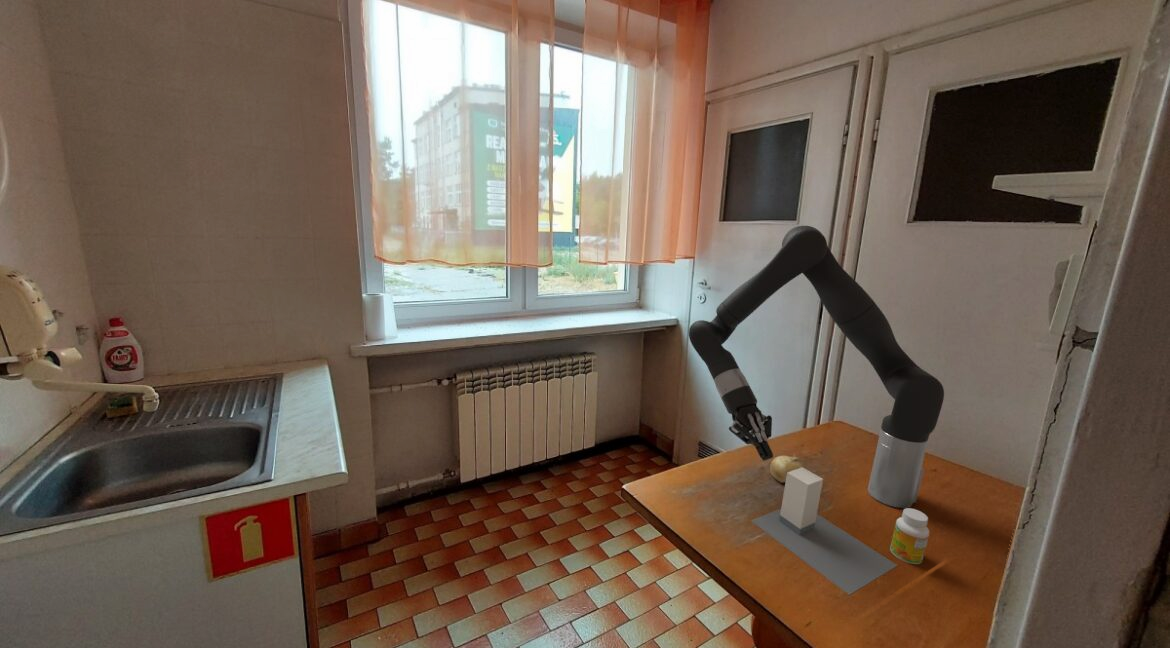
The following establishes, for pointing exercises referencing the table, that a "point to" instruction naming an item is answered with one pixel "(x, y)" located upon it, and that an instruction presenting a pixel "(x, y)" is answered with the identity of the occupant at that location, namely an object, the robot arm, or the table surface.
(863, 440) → the table surface
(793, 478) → the tall block
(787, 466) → the onion
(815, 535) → the mat
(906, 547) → the supplement bottle
